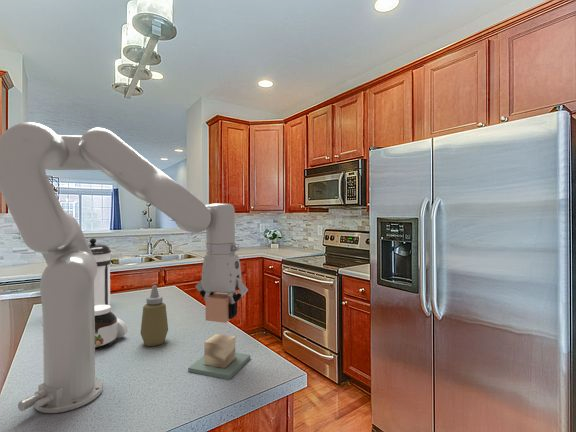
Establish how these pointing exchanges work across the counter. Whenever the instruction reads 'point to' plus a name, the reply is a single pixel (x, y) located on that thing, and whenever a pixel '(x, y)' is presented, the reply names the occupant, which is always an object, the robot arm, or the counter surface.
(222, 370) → the plate
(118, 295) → the counter surface
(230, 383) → the counter surface
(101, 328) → the spread jar
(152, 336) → the squeeze bottle
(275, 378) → the counter surface
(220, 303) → the terracotta block
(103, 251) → the coffee press
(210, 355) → the maple block
